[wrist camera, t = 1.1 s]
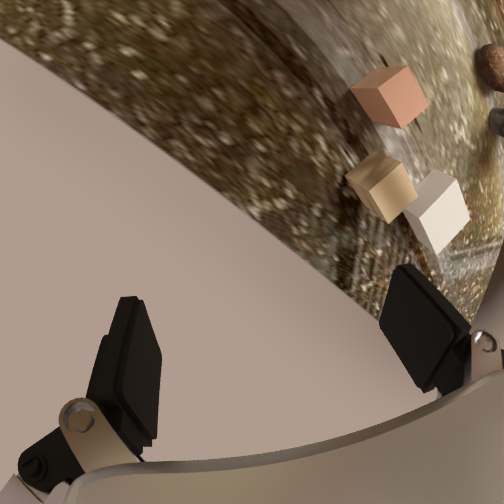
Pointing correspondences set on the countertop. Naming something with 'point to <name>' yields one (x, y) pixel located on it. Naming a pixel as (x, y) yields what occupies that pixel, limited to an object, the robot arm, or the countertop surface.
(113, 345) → the robot arm
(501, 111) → the beverage cup
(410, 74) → the terracotta block
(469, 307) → the countertop surface
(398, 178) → the oak block
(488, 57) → the mushroom
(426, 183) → the white block
